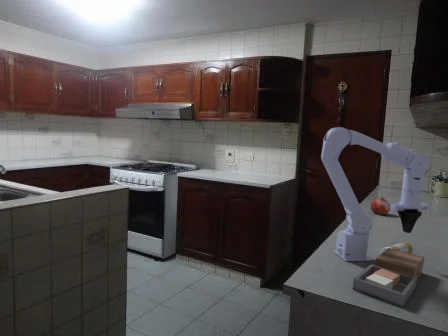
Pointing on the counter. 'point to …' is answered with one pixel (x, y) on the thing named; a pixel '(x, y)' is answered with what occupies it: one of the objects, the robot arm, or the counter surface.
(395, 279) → the terracotta tile
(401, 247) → the sprinkles bottle
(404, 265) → the walnut board
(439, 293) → the counter surface
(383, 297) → the box
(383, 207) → the fruit
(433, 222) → the counter surface
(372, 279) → the cream tile
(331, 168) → the robot arm
